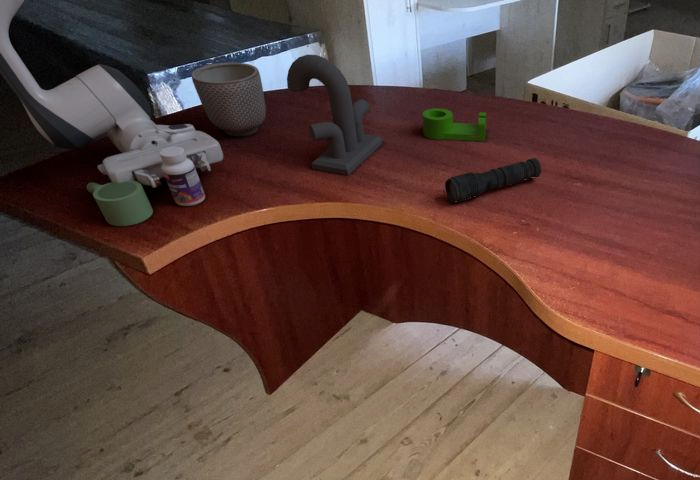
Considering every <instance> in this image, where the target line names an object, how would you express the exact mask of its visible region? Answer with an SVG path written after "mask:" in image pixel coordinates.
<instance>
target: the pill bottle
mask: <svg viewBox="0 0 700 480" xmlns="http://www.w3.org/2000/svg"><path fill="white" fill-rule="evenodd" d="M159 153H160V156H161V159H162V161H163V164H162V166H161V169H162V172H163V174H164V176H165V177H164V178H165V181H166V183H167V186H168V188H169V191H170V194H171V196H172V198H173V201H174V202H175V204H177V205H179V206H182V207H191V206H195V205H198V204H201V203H202V202H203V201H204V200H205V199H206V194H205V191H204V188H203V185H202V183H201V179H200V177H199V174H198V171H197V168H195V166H194V164H193V162H192V161H191V160H190V159H188V158H186V154H185V152H184V149H183V148H181V147H177V146H173V147H167V148H164V149H162V150H161V151H160V152H159Z"/></svg>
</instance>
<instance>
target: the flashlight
mask: <svg viewBox="0 0 700 480" xmlns="http://www.w3.org/2000/svg"><path fill="white" fill-rule="evenodd" d="M541 173H542V168H541V163H540V161H539V159H537V158H536V157H532V158H531V157H530V158H529V159H528V158H527V159H526V160H525V161H519V162H514V163H511V164H506V165H503V166H499V167H497V168H492V169H489V170H488V171H483V172H481V173H479V172H466V173H461V174H458V175H454V176H450V178H447V179H446V181H445V183H444V188H445V189H444V190H445V194H446V196H447V198H448V200H449V201H450V202H451V203H452V204H454V203H461V202H464V201H468V200H472V199H475V198H478V196H480V195H482V194H484V192H487V191H489V190H493V189H494V190H497V189H496V188H498V189H500V188H501V187H502V188H504V187H503V186H505V187H508V186H511V185H510V184H512V185H516V184H518V183H517V182H519V183H521V182H520V181H522V182H525V181H527V180H529V179H530V180H534V179H535V180H536V179H537V178H534V179H533V178H531V177H538V178H539V177H540V175H541ZM528 178H529V179H528ZM524 179H527V180H524ZM514 183H515V184H514ZM507 185H508V186H507ZM500 186H501V187H500ZM492 188H493V189H492ZM481 193H482V194H481ZM479 194H480V195H479ZM474 196H476V197H474ZM470 197H471V198H470ZM468 198H469V199H468ZM465 199H466V200H465ZM461 200H462V201H461ZM455 201H457V202H455Z"/></svg>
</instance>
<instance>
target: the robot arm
mask: <svg viewBox="0 0 700 480" xmlns="http://www.w3.org/2000/svg"><path fill="white" fill-rule="evenodd" d="M24 2H25V0H0V75H1V76H2V77H3V79H4V80H5V82H6V83H7V85H8V86H9V88H11V90H12V91H13V93H14V94H15V95H16V96H17V98H18V100H20V102H21V104H22V106H23V107H24V109H25V111H26V113H27V115H28V118H29V119H30V121H31V123H32V124H33V126H34V128H35V129H36V131H38V133H39V134H40V135H41V136H42V137H43V138H44V139H45V140H47V142H49V143H50V144H52V145H53V146H55V147H56V148H59V149H64V150H70V151H71V150H72V151H82V150H83V149H85V148H86V147H87V146H88V145H90V144H91V143H93V142H94V141H95V140H96V139H97V138H98V137H100V136H102V135H104V134H105V133H106V135H107V137H108V138H109V140H110V141H111V143H112V144H113V145H114V147H115V148H116V149H117V150H118V151H120V153H118V154H114V155H110V156H107V157H105V158H104V159H103V160H102V163H101V164H98V165H97V171H99V172H100V173H101V174H102V175H107V176H108V179H109V180H110V182H112V183H122V182H127V181H131V180H132V181H136V182H139V183H140V184H141V185H142V186H143V185H144V186H150V187H152V188H153V189H154V188H158V187H161V186H162V182H161V179H164V178H165V176H164V174H163V172H162V169H161V166H162V164H163V161H162V159H161V156H160V153H159V152H160V151H161V150H162V149H164V148H167V147H173V146H177V147H181V148H183V149H184V152H185V154H186V158H188V159H190V160H191V161H192V162H193V164H194V166H195V169H197V168H198V169H199V171H200V172H202V174H205V173H208V172H211V171H212V168H211V166H210V165H212V164H215V163H219V162H222V161H223V160H224V153H223V149H222V147H221V144H220V142H219V141H218V140H217V139H215V138H214V137H212V136H211V135H209V134H208V133H206V132H204V131H201V130H196V129H195V127H194V125H193V124H191V123H181V124H172V125H168V124H167V125H166V124H156V123H155V122H154V121H153V120H151V119H152V117H153V116H152V108H151V105H150V103H149V101H148V100H147V98H146V97H145V95H144V94H143V92H142V91H141V90H140V89H139V87H138V86H137V85H136V84H135V83H134V82H133V81H132V80H131V79H129V78H128V76H126V75H125V74H124V73H123V72H121V71H120V70H119V69H116V68H114V67H112V66H109V65H105V64H101V63H98V64H97V65H94V66H92V67H90V68H88V69H86V70H84V71H82V72H80V73H79V74H76V75H75V76H74V77H73V78H70V79H68V80H67V81H65V82H62V83H61V84H59V85H57V86H55V87H53V88H51V89H43V88H42V87H41V86H40V85H39V84H38V82H37V81H36V79H35V77H34V76H33V75H32V73H31V72H30V70H29V68H28V67H27V66H26V64H25V63H24V62H23V60H22V58H21V57H20V56H19V54H18V52H17V51H16V50H15V48H14V46H13V45H12V42H11V40H10V36H9V35H10V34H9V31H10V30H9V29H10V25H11V22H12V20H13V19H14V16H15V15H16V13H17V12H18V10H19V9H20V7H22V5H23V4H24Z"/></svg>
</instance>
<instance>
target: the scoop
mask: <svg viewBox="0 0 700 480" xmlns="http://www.w3.org/2000/svg"><path fill="white" fill-rule="evenodd" d="M86 191H88V193H90V194H92V196H93V199H94V201H95V202H96V204H97V206H98V208H99V210H100V211H101V213H102V215H103V217H104V219H105V221H106V222H107V223H108V224H109V225H110V226H116V227H128V226H133V225H137V224H140V223H143V222H144V221H146V220H148V219H150V217H152V215H153V213H154V209H153V207H152V205H151V202H150V200H149V198H148V196H147V194H146V191H145V190H144V187H143V184H140V183H139V182H136V181H132V180H131V181H127V182H122V183H112V182H111V181H110V182H108V183H105V184H100V183H96V182H93V181H92V182H89V183H88V184H87V185H86Z"/></svg>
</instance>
